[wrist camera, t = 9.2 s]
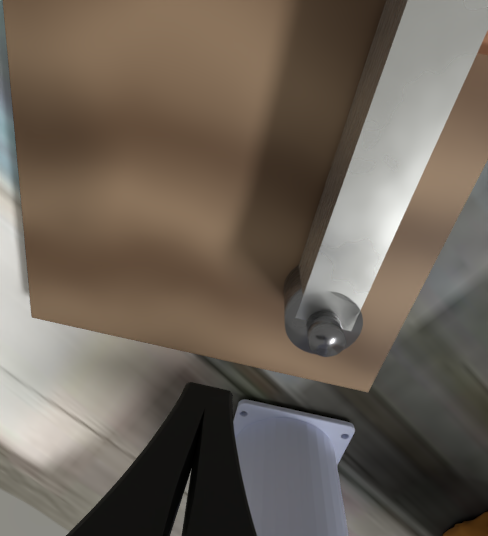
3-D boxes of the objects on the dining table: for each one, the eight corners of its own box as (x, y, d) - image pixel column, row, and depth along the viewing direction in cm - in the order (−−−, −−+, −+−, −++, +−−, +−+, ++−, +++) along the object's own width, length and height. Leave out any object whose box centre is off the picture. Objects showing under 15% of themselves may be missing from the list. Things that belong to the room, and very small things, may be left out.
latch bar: (336, 322, 18) (352, 382, 14) (276, 308, 18) (276, 364, 14) (486, -34, 11) (594, -104, 7) (392, -59, 11) (452, -142, 7)
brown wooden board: (362, 374, 21) (382, 437, 17) (47, 303, 21) (-8, 351, 17) (577, -68, 12) (731, -156, 8) (14, -203, 12) (-126, -367, 8)
